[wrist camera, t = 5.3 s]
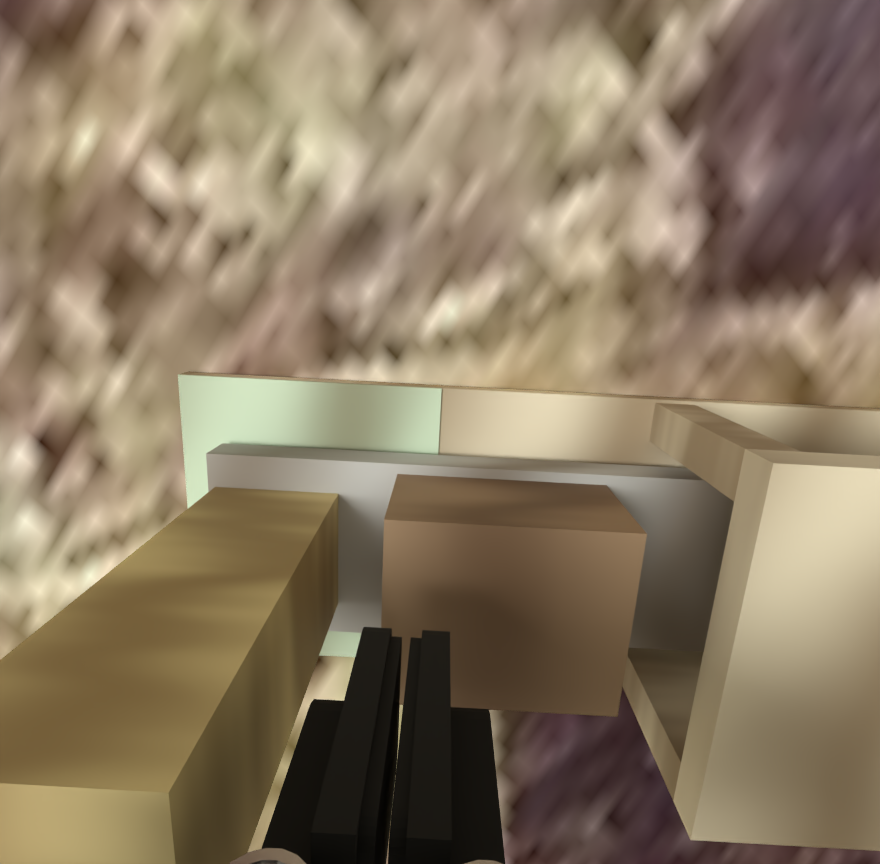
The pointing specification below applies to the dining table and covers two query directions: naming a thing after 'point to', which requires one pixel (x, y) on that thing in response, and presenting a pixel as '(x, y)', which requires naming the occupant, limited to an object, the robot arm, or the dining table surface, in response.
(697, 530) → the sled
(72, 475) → the dining table surface
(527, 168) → the dining table surface
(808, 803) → the tunnel
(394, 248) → the dining table surface
